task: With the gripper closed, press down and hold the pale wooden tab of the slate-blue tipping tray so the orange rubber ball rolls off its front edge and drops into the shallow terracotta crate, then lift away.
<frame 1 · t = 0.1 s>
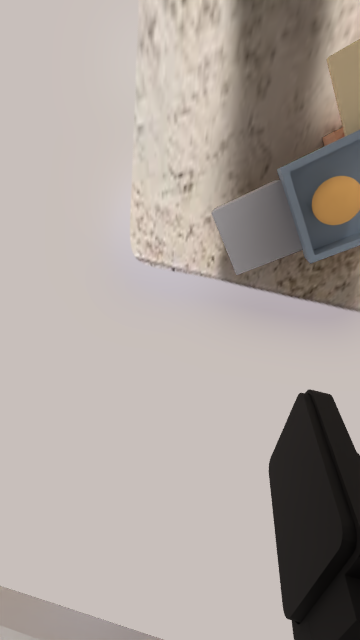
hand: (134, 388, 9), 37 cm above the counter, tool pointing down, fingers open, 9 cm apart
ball: (336, 201, 26), point 14 cm above the counter, touching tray
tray: (306, 172, 29), point 11 cm above the counter, hinge at 0.0°, touching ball
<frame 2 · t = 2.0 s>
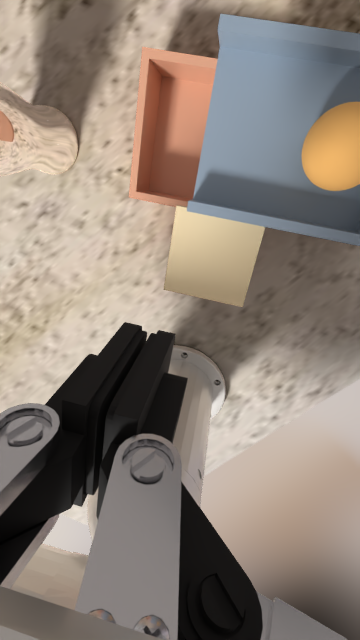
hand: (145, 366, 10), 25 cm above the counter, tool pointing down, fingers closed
beer glass: (51, 142, 31), on the counter
shallow terracotta crate: (204, 146, 29), on the counter
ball: (343, 149, 16), point 14 cm above the counter, touching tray
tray: (323, 208, 20), point 10 cm above the counter, hinge at 0.0°, touching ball
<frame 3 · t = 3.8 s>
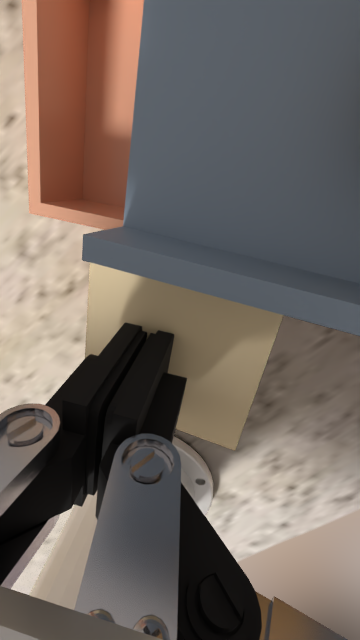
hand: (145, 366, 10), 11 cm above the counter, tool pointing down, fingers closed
shallow terracotta crate: (171, 125, 17), on the counter
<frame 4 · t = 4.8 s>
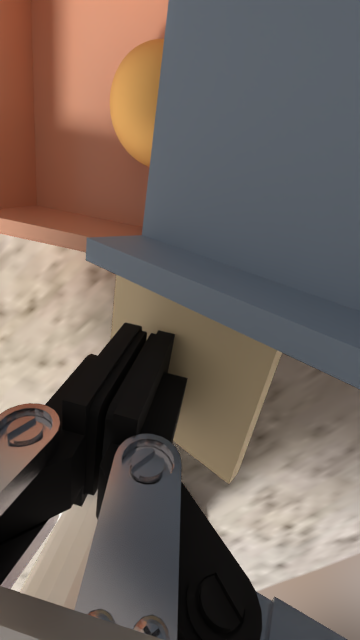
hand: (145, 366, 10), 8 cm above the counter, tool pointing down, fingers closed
shallow terracotta crate: (136, 116, 14), on the counter
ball: (163, 110, 11), point 3 cm above the counter, tilted 167°, touching shallow terracotta crate
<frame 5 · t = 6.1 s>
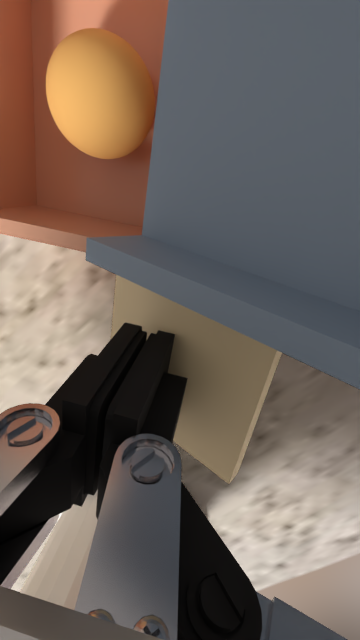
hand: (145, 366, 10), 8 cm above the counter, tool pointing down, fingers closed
shallow terracotta crate: (136, 116, 14), on the counter
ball: (102, 100, 12), point 3 cm above the counter, tilted 123°, touching shallow terracotta crate
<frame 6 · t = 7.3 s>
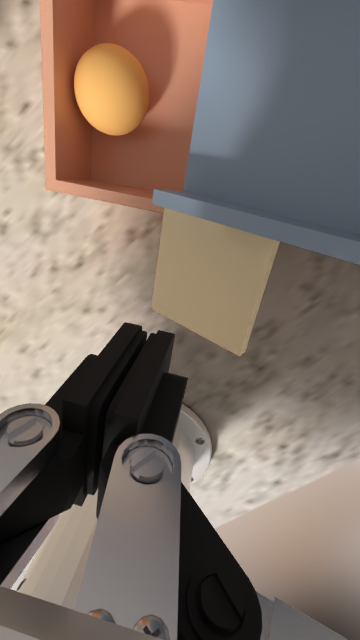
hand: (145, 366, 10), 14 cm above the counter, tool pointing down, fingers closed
shallow terracotta crate: (169, 109, 19), on the counter
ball: (112, 92, 17), point 3 cm above the counter, tilted 63°, touching shallow terracotta crate
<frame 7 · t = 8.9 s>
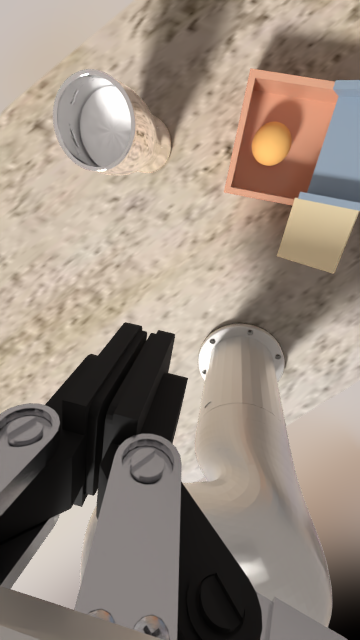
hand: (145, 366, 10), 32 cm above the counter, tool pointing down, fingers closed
beer glass: (146, 145, 36), on the counter
shallow terracotta crate: (283, 149, 34), on the counter
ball: (271, 144, 32), point 3 cm above the counter, tilted 94°, touching shallow terracotta crate
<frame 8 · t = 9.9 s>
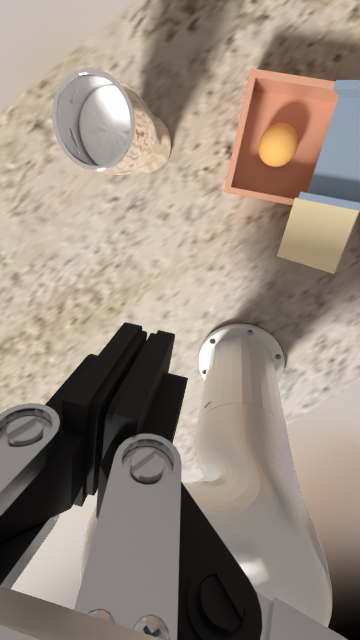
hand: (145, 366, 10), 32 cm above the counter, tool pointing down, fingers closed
beer glass: (147, 144, 36), on the counter
shallow terracotta crate: (283, 149, 34), on the counter
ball: (278, 145, 32), point 3 cm above the counter, tilted 113°, touching shallow terracotta crate
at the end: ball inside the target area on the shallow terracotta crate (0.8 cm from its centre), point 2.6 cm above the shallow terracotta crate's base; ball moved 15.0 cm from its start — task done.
